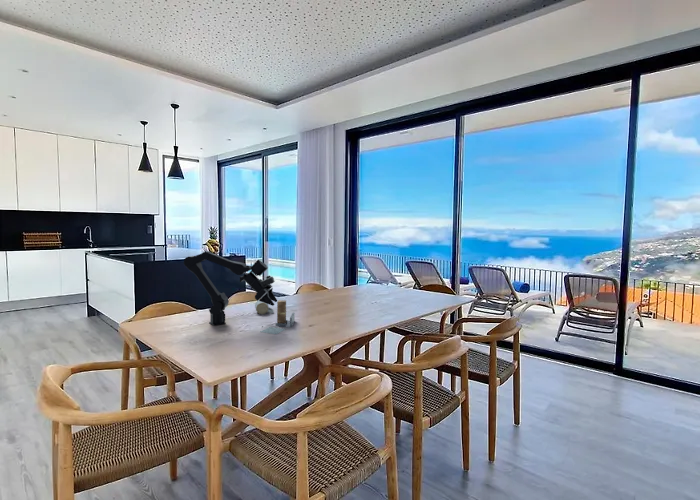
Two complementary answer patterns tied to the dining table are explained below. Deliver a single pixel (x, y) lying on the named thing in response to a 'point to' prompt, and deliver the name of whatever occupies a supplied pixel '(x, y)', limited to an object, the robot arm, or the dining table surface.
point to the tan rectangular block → (281, 311)
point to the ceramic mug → (262, 307)
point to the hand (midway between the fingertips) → (275, 303)
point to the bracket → (287, 322)
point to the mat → (273, 330)
